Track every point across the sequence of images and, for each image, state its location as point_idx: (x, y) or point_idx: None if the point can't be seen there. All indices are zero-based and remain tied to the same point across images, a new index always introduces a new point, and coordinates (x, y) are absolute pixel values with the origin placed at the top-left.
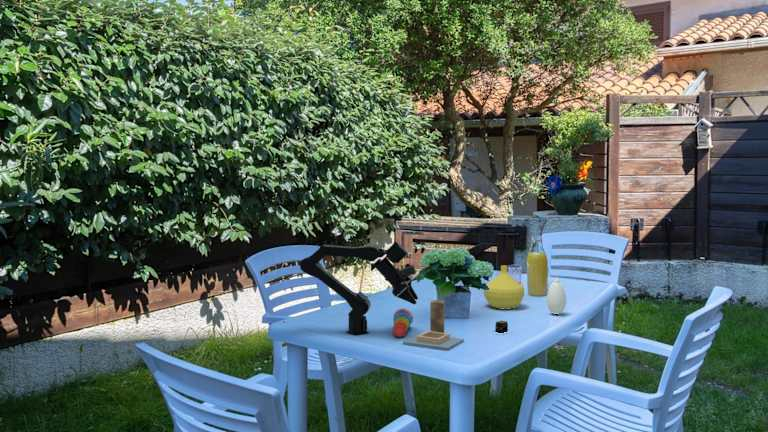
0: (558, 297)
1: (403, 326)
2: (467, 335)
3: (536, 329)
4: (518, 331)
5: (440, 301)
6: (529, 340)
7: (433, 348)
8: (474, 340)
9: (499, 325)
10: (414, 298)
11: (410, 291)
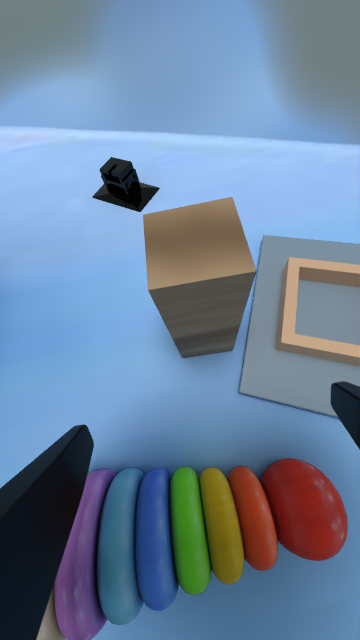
0: None
1: (318, 480)
2: None
3: (94, 149)
4: None
5: (185, 224)
6: (193, 139)
7: None
8: None
9: (131, 174)
10: (86, 468)
11: (2, 589)
